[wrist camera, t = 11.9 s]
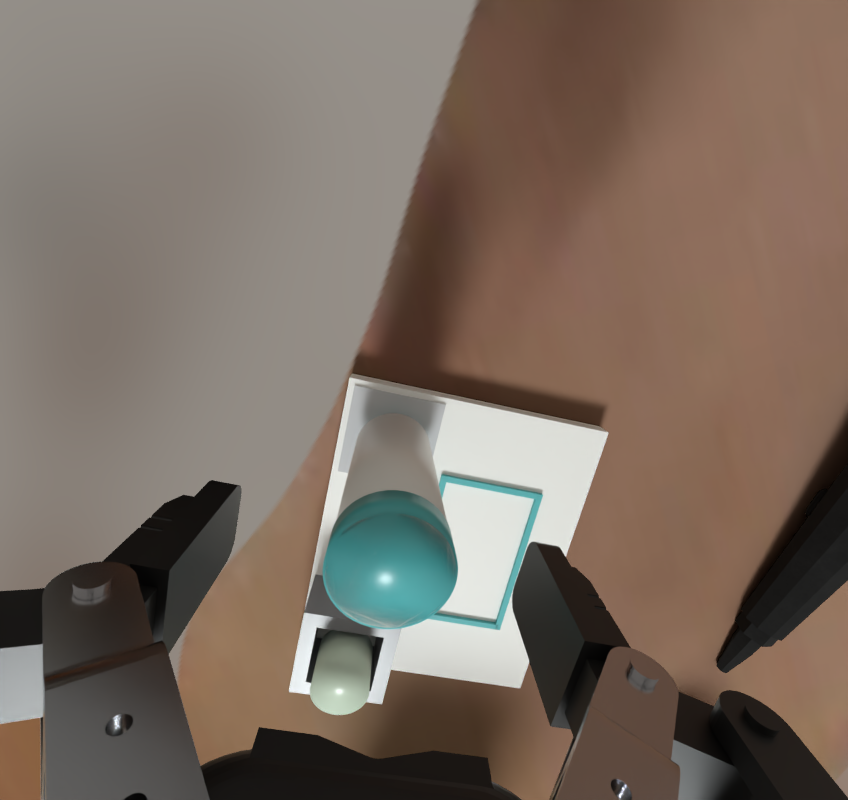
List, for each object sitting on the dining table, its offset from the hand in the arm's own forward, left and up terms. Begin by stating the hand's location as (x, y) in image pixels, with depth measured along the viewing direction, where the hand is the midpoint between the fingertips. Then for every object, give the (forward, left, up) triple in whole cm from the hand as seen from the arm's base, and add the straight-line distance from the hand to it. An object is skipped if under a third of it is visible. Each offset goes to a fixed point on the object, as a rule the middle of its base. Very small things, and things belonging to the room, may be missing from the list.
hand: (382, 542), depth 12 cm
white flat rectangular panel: (+6, +4, -11) cm, 13 cm away
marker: (0, 0, -9) cm, 9 cm away
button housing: (+11, 0, -11) cm, 15 cm away
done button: (+11, 0, -8) cm, 13 cm away
